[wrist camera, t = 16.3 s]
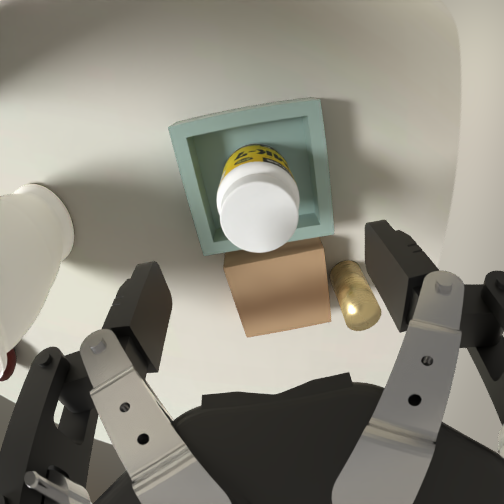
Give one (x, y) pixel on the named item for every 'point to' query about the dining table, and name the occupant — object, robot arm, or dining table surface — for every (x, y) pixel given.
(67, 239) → the jar
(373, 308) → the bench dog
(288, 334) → the dining table surface
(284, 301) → the brown wooden square block
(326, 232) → the tray
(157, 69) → the dining table surface
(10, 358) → the potato
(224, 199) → the supplement bottle
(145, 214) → the dining table surface
